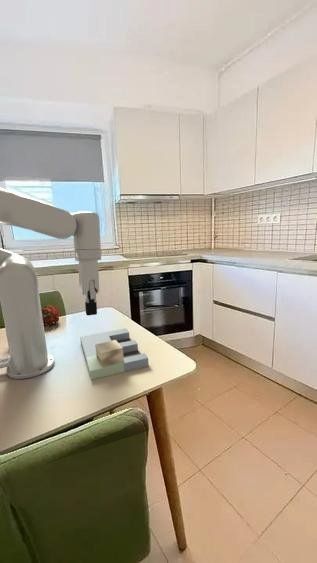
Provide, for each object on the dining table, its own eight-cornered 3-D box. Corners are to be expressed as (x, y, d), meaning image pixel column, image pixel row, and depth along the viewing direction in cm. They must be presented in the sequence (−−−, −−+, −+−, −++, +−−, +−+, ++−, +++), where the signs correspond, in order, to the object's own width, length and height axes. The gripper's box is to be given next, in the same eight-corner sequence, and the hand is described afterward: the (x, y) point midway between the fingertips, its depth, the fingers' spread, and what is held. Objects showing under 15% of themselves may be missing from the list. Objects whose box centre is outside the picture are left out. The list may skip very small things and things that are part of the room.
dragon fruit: (50, 333, 109) (47, 327, 119) (66, 317, 111) (62, 313, 122) (33, 318, 106) (32, 314, 116) (50, 302, 108) (48, 299, 119)
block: (102, 367, 73) (101, 353, 73) (96, 357, 79) (95, 344, 78) (123, 361, 76) (122, 347, 75) (116, 352, 81) (115, 339, 80)
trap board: (90, 379, 72) (89, 371, 72) (81, 343, 94) (80, 336, 94) (148, 365, 78) (148, 357, 77) (126, 334, 100) (126, 328, 99)
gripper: (72, 253, 87) (76, 308, 91) (77, 258, 73) (81, 323, 77) (96, 252, 90) (99, 306, 93) (105, 257, 76) (108, 320, 80)
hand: (91, 314), depth 85 cm, fingers closed
